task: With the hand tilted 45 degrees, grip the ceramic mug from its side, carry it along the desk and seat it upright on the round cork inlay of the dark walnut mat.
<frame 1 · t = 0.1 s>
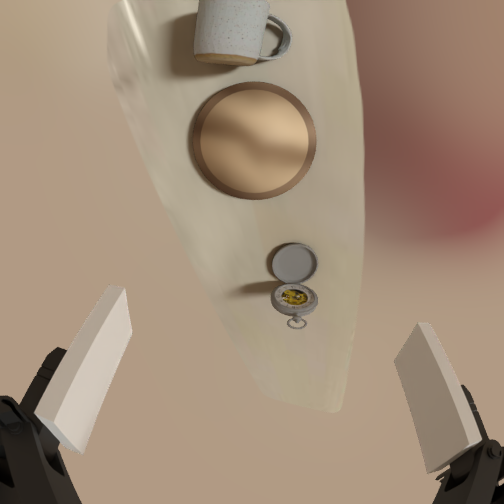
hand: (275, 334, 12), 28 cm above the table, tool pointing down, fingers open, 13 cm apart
ceramic mug: (244, 36, 28), on the table
walnut mat: (254, 140, 35), on the table
pocket watch: (292, 267, 44), on the table
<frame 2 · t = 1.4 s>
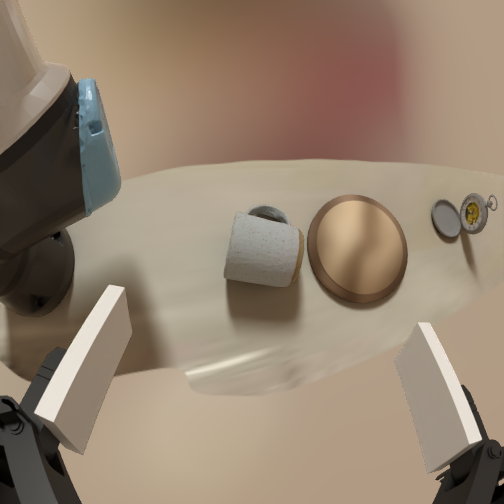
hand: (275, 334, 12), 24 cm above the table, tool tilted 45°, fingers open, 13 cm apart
ceramic mug: (259, 249, 38), on the table
walnut mat: (359, 247, 39), on the table
pocket watch: (448, 221, 41), on the table
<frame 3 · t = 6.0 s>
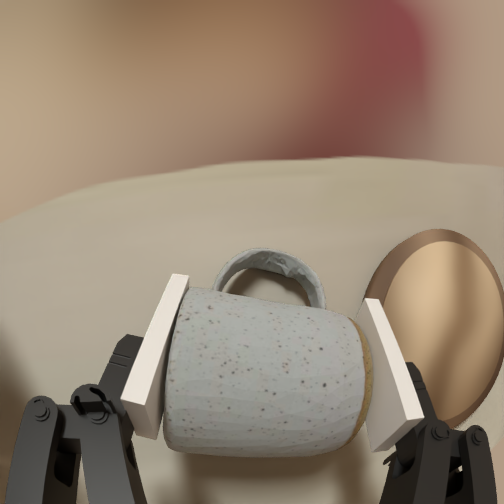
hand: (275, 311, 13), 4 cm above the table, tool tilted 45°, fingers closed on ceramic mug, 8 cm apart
ceramic mug: (254, 346, 17), on the table, touching gripper
walnut mat: (444, 332, 17), on the table
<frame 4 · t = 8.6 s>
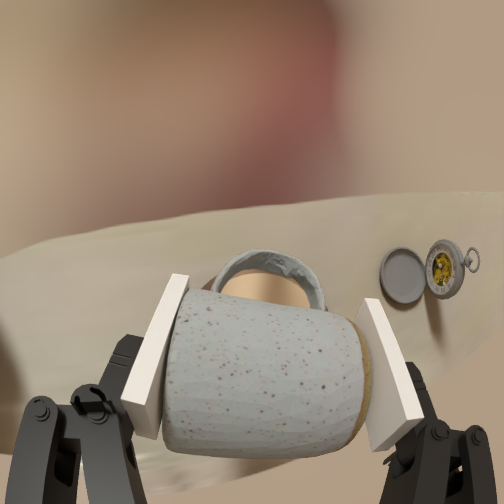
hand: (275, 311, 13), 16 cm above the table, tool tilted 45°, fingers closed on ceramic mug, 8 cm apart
ceramic mug: (253, 347, 17), point 12 cm above the table, touching gripper
walnut mat: (258, 338, 29), on the table
pocket watch: (407, 277, 32), on the table
when the fingers open (6 cm above the table, at t = 10.9 s): ceramic mug drops 1 cm, resting on walnut mat.
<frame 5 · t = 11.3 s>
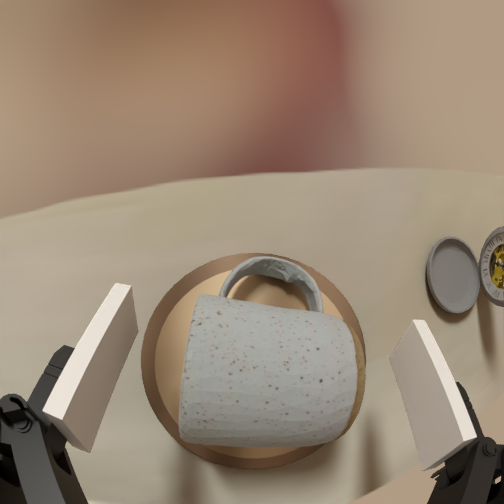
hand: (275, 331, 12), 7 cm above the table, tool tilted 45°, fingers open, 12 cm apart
ceramic mug: (257, 346, 18), point 1 cm above the table, touching walnut mat
walnut mat: (255, 366, 19), on the table
pocket watch: (457, 278, 22), on the table
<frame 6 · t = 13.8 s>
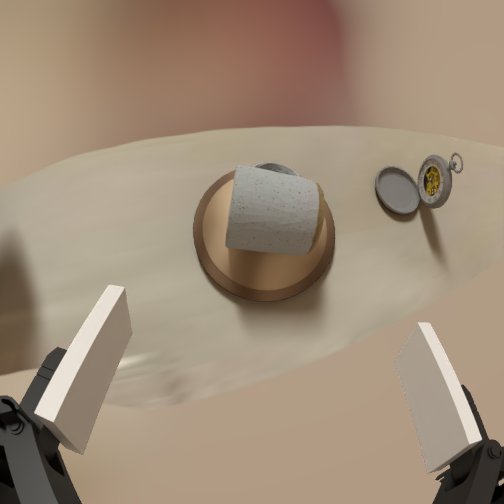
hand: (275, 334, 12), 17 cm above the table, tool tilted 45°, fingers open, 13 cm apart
ceramic mug: (266, 214, 31), point 1 cm above the table, touching walnut mat
walnut mat: (264, 230, 32), on the table
pocket watch: (402, 194, 34), on the table
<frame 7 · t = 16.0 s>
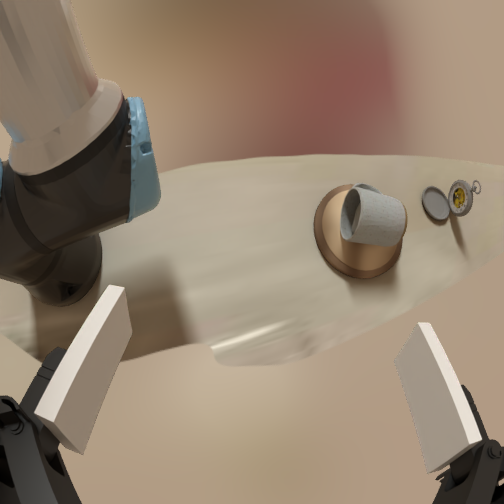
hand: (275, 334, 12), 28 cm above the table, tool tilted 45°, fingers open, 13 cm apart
ceramic mug: (361, 219, 43), point 1 cm above the table, touching walnut mat
walnut mat: (359, 230, 44), on the table
pocket watch: (438, 206, 47), on the table
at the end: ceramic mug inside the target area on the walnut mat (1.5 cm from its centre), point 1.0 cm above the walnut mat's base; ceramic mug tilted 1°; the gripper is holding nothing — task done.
